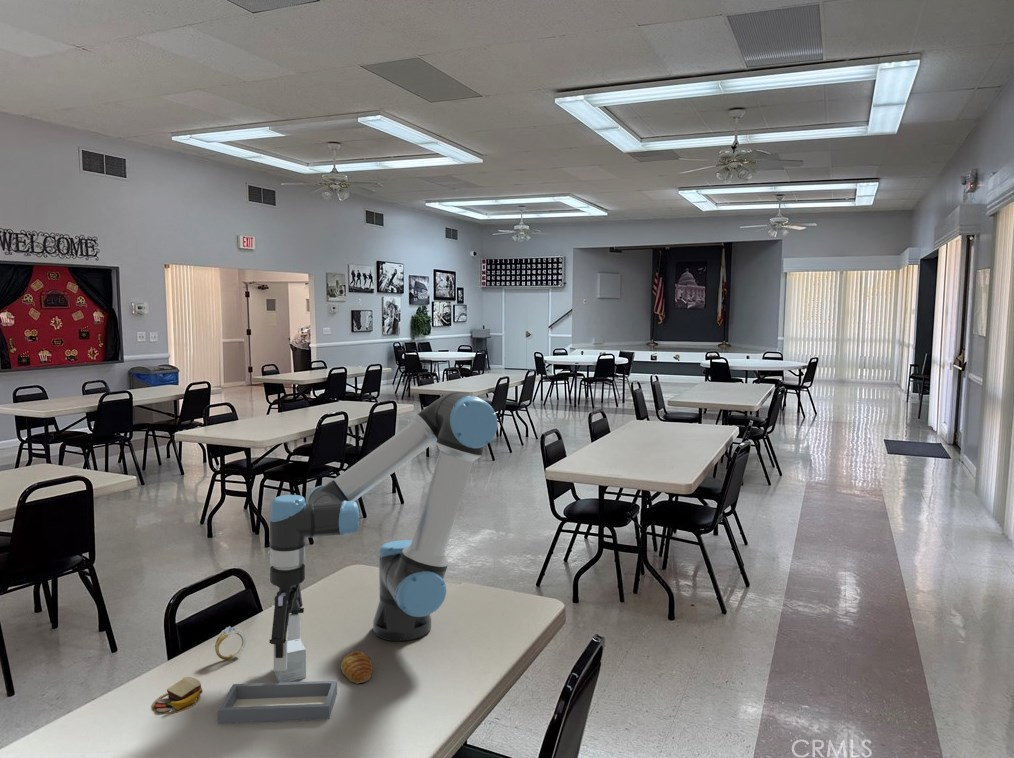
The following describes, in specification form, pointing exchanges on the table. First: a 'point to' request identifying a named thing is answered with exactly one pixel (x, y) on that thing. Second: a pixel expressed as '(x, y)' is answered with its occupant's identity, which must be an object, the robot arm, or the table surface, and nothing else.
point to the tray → (278, 702)
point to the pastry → (357, 667)
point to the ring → (227, 632)
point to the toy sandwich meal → (179, 696)
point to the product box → (294, 662)
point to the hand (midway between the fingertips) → (287, 655)
